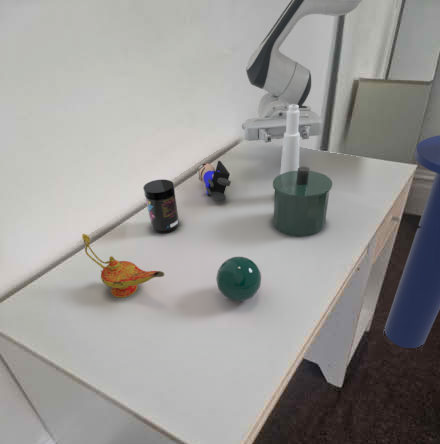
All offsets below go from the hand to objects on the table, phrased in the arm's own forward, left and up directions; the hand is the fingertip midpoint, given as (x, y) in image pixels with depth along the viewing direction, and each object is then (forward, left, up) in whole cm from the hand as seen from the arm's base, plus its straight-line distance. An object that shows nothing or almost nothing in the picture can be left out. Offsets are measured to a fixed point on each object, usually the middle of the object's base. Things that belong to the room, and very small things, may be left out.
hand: (287, 137), depth 92 cm
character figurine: (+19, -4, -13) cm, 23 cm away
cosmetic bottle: (+2, +6, -13) cm, 15 cm away
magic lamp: (+46, +29, -13) cm, 55 cm away
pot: (+5, +19, -13) cm, 23 cm away
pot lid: (+5, +19, -3) cm, 20 cm away
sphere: (+27, +38, -13) cm, 48 cm away
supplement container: (+35, +8, -13) cm, 38 cm away
